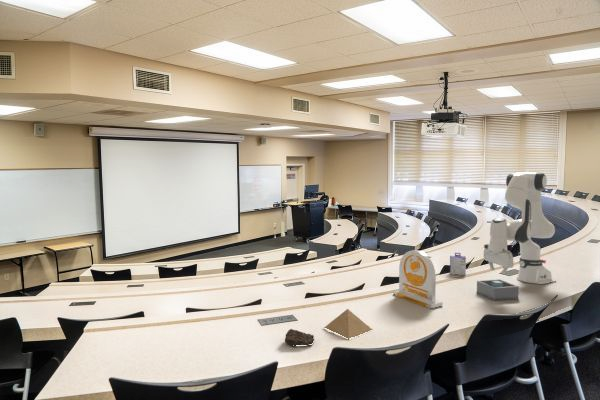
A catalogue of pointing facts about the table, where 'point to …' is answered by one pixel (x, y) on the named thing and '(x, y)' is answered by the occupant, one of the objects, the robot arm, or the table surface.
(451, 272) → the ink cartridge box
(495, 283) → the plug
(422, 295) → the award
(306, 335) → the dark brown rock
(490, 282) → the walled box
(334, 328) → the model pyramid
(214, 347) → the table surface
